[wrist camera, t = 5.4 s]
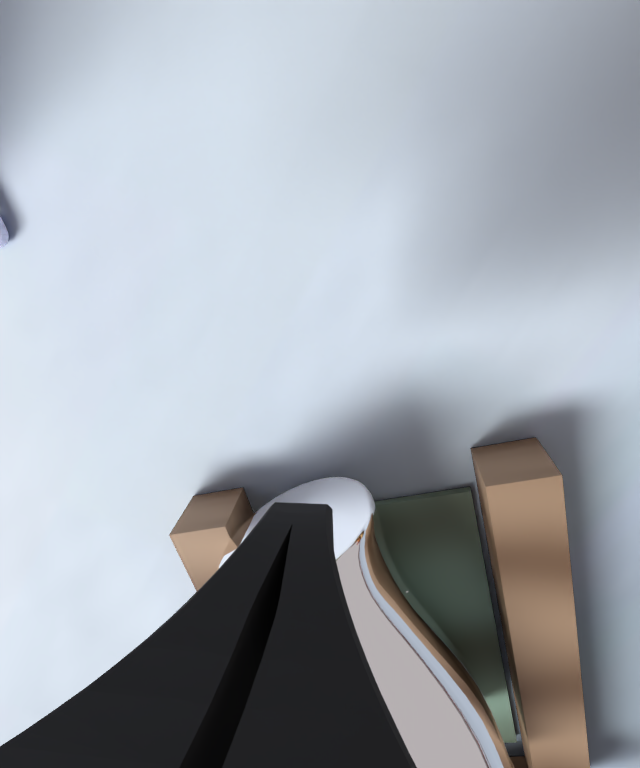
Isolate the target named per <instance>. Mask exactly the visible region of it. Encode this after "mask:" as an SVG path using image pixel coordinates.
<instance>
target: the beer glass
mask: <svg viewBox="0 0 640 768" xmlns="http://www.w3.org/2000/svg"><path fill="white" fill-rule="evenodd" d="M275 502H285V503H310V504H328V505H329V506H330V507H331V508H332V510H333V538H334V553H335V559H336V563H337V567H338V572H339V576H340V580H341V584H342V588H343V591H344V595H345V598H346V601H347V605H348V608H349V611H350V614H351V617H352V620H353V623H354V626H355V629H356V632H357V635H358V637H359V640H360V643H361V645H362V648H363V651H364V653H365V656H366V658H367V661H368V663H369V666H370V668H371V671H372V673H373V675H374V678H375V680H376V683H377V685H378V687H379V690H380V692H381V694H382V696H383V698H384V701H385V703H386V705H387V707H388V709H389V711H390V713H391V715H392V718H393V720H394V722H395V724H396V726H397V728H398V730H399V732H400V735H401V737H402V739H403V741H404V743H405V745H406V747H407V749H408V751H409V753H410V755H411V757H412V759H413V761H414V763H415V765H416V767H417V768H514V765H513V763H512V761H511V759H510V757H509V754H508V751H507V749H506V746H505V743H504V740H503V738H502V735H501V732H500V730H499V727H498V724H497V722H496V720H495V717H494V715H493V713H492V711H491V708H490V706H489V704H488V702H487V699H486V697H485V695H484V693H483V691H482V690H481V688H480V686H479V684H478V682H477V680H476V679H475V677H474V675H473V673H472V671H471V670H470V668H469V666H468V665H467V663H466V662H465V660H464V659H463V658H462V656H461V655H460V653H459V652H458V650H457V649H456V648H455V646H454V645H453V643H452V642H451V641H450V639H449V638H448V637H447V635H446V634H445V633H444V632H443V630H442V629H441V628H440V627H439V625H438V624H437V623H436V622H435V620H434V619H433V618H432V617H431V615H430V614H429V613H428V612H427V611H426V609H425V608H424V607H423V606H422V604H421V603H420V602H419V601H418V599H417V598H416V597H415V596H414V594H413V593H412V592H411V590H410V589H409V588H408V586H407V585H406V584H405V582H404V581H403V579H402V577H401V576H400V574H399V572H398V571H397V569H396V567H395V565H394V563H393V560H392V558H391V556H390V553H389V550H388V548H387V545H386V541H385V537H384V534H383V530H382V526H381V522H380V519H379V515H378V511H377V508H376V505H375V502H374V499H373V497H372V495H371V493H370V491H369V490H368V489H367V488H366V486H365V485H363V484H362V483H361V482H359V481H357V480H354V479H351V478H346V477H328V478H322V479H317V480H313V481H310V482H307V483H304V484H301V485H299V486H297V487H294V488H292V489H290V490H288V491H286V492H284V493H282V494H281V495H279V496H277V497H276V498H274V499H272V500H271V501H269V502H268V503H266V504H265V505H264V506H262V507H261V508H260V509H258V510H257V511H256V512H255V513H254V514H253V515H251V516H250V517H249V518H248V519H247V520H246V521H245V522H244V523H243V524H242V525H241V526H240V527H239V528H238V530H237V531H236V532H235V533H234V534H233V536H232V537H231V539H230V540H229V541H228V543H227V545H226V546H225V548H224V550H223V552H222V554H221V557H220V559H219V563H218V567H217V570H218V569H219V568H220V567H221V566H222V565H223V563H224V562H225V561H226V560H227V559H228V558H229V557H230V555H231V554H232V553H233V552H234V551H235V550H236V549H237V547H238V546H239V545H240V544H241V543H242V542H243V540H244V539H245V538H246V537H247V535H248V534H249V533H250V532H251V531H252V529H253V528H254V527H255V526H256V524H257V523H258V522H259V521H260V519H261V518H262V517H263V515H264V514H265V513H266V511H267V510H268V509H269V508H270V506H271V505H272V504H274V503H275Z"/></svg>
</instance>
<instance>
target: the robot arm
mask: <svg viewBox="0 0 640 768" xmlns="http://www.w3.org/2000/svg"><path fill="white" fill-rule="evenodd" d="M8 240H9V234H8V231H7V228H6V226H5V224H4V222H3V220H2V218H1V216H0V248H1V247H3V246H5V245H6V244H7V242H8ZM0 768H417V767H416V765H415V763H414V761H413V759H412V757H411V755H410V753H409V751H408V749H407V747H406V745H405V743H404V741H403V739H402V737H401V735H400V732H399V730H398V728H397V726H396V724H395V722H394V720H393V718H392V715H391V713H390V711H389V709H388V707H387V705H386V703H385V701H384V698H383V696H382V694H381V692H380V690H379V687H378V685H377V683H376V680H375V678H374V675H373V673H372V671H371V668H370V666H369V663H368V661H367V658H366V656H365V653H364V651H363V648H362V645H361V643H360V640H359V637H358V635H357V632H356V629H355V626H354V623H353V620H352V617H351V614H350V611H349V608H348V605H347V601H346V598H345V595H344V591H343V588H342V584H341V580H340V576H339V572H338V567H337V563H336V559H335V553H334V538H333V510H332V508H331V507H330V506H329V505H328V504H310V503H285V502H275V503H274V504H272V505H271V506H270V508H269V509H268V510H267V511H266V513H265V514H264V515H263V517H262V518H261V519H260V521H259V522H258V523H257V524H256V526H255V527H254V528H253V529H252V531H251V532H250V533H249V534H248V535H247V537H246V538H245V539H244V540H243V542H242V543H241V544H240V545H239V546H238V547H237V549H236V550H235V551H234V552H233V553H232V554H231V555H230V557H229V558H228V559H227V560H226V561H225V562H224V563H223V565H222V566H221V567H220V568H219V569H218V570H217V571H216V572H215V573H214V574H213V576H212V577H211V578H210V579H209V580H208V581H207V582H206V583H205V584H204V585H203V586H202V587H201V588H200V589H199V590H198V591H197V592H196V593H195V594H194V595H193V596H192V597H191V598H190V599H189V600H188V601H187V602H186V603H185V604H184V605H183V606H182V607H181V608H180V609H179V610H178V611H177V612H176V613H175V614H174V615H173V616H172V617H171V618H169V619H168V620H167V621H166V622H165V623H164V624H163V625H162V626H161V627H160V628H158V629H157V630H156V631H155V632H154V633H153V634H152V635H151V636H149V637H148V638H147V639H146V640H145V641H144V642H142V643H141V644H140V645H139V646H138V647H136V648H135V649H134V650H133V651H132V652H130V653H129V654H128V655H127V656H125V657H124V658H123V659H122V660H121V661H119V662H118V663H117V664H116V665H114V666H113V667H112V668H111V669H109V670H108V671H107V672H106V673H104V674H103V675H102V676H100V677H99V678H98V679H97V680H95V681H94V682H93V683H91V684H90V685H89V686H87V687H86V688H85V689H83V690H82V691H80V692H79V693H78V694H76V695H75V696H73V697H72V698H71V699H69V700H68V701H66V702H65V703H64V704H62V705H61V706H59V707H58V708H56V709H55V710H54V711H52V712H51V713H49V714H48V715H47V716H45V717H44V718H42V719H41V720H39V721H38V722H36V723H35V724H33V725H32V726H31V727H29V728H28V729H26V730H25V731H23V732H22V733H20V734H19V735H17V736H16V737H14V738H12V739H11V740H9V741H8V742H6V743H5V744H3V745H2V746H0Z"/></svg>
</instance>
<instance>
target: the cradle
mask: <svg viewBox="0 0 640 768" xmlns="http://www.w3.org/2000/svg"><path fill="white" fill-rule="evenodd" d="M471 453H472V459H473V464H474V470H475V476H476V481H477V487H478V493H479V498H480V504H481V510H482V515H483V521H484V527H485V532H486V538H487V544H488V550H489V555H490V561H491V567H492V572H493V578H494V584H495V589H496V595H497V601H498V606H499V612H500V618H501V624H502V629H503V635H504V641H505V646H506V652H507V658H508V663H509V669H510V675H511V680H512V686H513V692H514V697H515V703H516V709H517V715H518V720H519V726H520V732H521V737H522V743H523V749H524V754H525V756H516V757H510V759H511V761H512V763H513V765H514V768H590V764H589V753H588V743H587V732H586V721H585V711H584V700H583V690H582V679H581V669H580V658H579V648H578V637H577V627H576V616H575V605H574V595H573V584H572V574H571V563H570V553H569V542H568V532H567V521H566V511H565V500H564V489H563V479H562V474H561V473H560V471H559V470H558V468H557V467H556V466H555V464H554V463H553V461H552V460H551V458H550V457H549V455H548V454H547V452H546V451H545V450H544V448H543V447H542V445H541V444H540V442H539V441H538V439H537V438H536V437H535V438H529V439H523V440H518V441H512V442H506V443H500V444H494V445H488V446H482V447H477V448H471ZM374 502H375V505H376V508H377V511H378V515H379V519H380V522H381V526H382V530H383V534H384V537H385V541H386V545H387V548H388V550H389V553H390V556H391V558H392V560H393V563H394V565H395V567H396V569H397V571H398V572H399V574H400V576H401V577H402V579H403V581H404V582H405V584H406V585H407V586H408V588H409V589H410V590H411V592H412V593H413V594H414V596H415V597H416V598H417V599H418V601H419V602H420V603H421V604H422V606H423V607H424V608H425V609H426V611H427V612H428V613H429V614H430V615H431V617H432V618H433V619H434V620H435V622H436V623H437V624H438V625H439V627H440V628H441V629H442V630H443V632H444V633H445V634H446V635H447V637H448V638H449V639H450V641H451V642H452V643H453V645H454V646H455V648H456V649H457V650H458V652H459V653H460V655H461V656H462V658H463V659H464V660H465V662H466V663H467V665H468V666H469V668H470V670H471V671H472V673H473V675H474V677H475V679H476V680H477V682H478V684H479V686H480V688H481V690H482V691H483V693H484V695H485V697H486V699H487V702H488V704H489V706H490V708H491V711H492V713H493V715H494V717H495V720H496V722H497V724H498V727H499V730H500V732H501V735H502V738H503V740H504V743H517V740H516V734H515V729H514V724H513V718H512V713H511V707H510V702H509V696H508V691H507V685H506V680H505V674H504V669H503V663H502V658H501V652H500V647H499V641H498V636H497V630H496V625H495V619H494V614H493V608H492V603H491V598H490V592H489V587H488V581H487V576H486V570H485V565H484V559H483V554H482V548H481V543H480V537H479V532H478V526H477V521H476V515H475V510H474V504H473V499H472V493H471V489H470V487H465V488H458V489H452V490H445V491H439V492H432V493H426V494H419V495H413V496H406V497H400V498H393V499H387V500H380V501H374ZM253 514H254V513H253V511H252V508H251V506H250V503H249V501H248V498H247V496H246V493H245V491H244V488H237V489H231V490H225V491H219V492H214V493H208V494H202V495H196V496H193V498H192V499H191V501H190V502H189V504H188V506H187V507H186V509H185V510H184V512H183V514H182V515H181V517H180V519H179V520H178V522H177V523H176V525H175V527H174V528H173V530H172V531H171V533H170V535H169V536H170V538H171V540H172V542H173V544H174V546H175V548H176V550H177V552H178V554H179V556H180V558H181V560H182V562H183V564H184V566H185V568H186V570H187V572H188V574H189V576H190V579H191V581H192V583H193V585H194V587H195V589H196V591H198V590H199V589H200V588H201V587H202V586H203V585H204V584H205V583H206V582H207V581H208V580H209V579H210V578H211V577H212V576H213V574H214V573H215V572H216V571H217V567H218V563H219V559H220V557H221V554H222V552H223V550H224V548H225V546H226V545H227V543H228V541H229V540H230V539H231V537H232V536H233V534H234V533H235V532H236V531H237V530H238V528H239V527H240V526H241V525H242V524H243V523H244V522H245V521H246V520H247V519H248V518H249V517H250V516H251V515H253Z"/></svg>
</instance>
